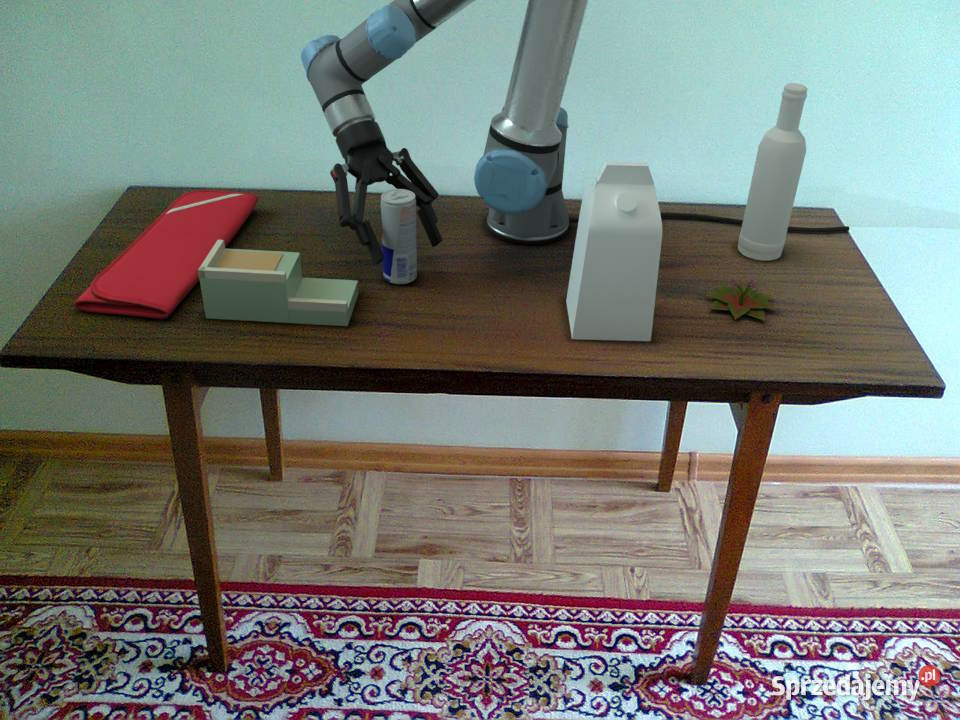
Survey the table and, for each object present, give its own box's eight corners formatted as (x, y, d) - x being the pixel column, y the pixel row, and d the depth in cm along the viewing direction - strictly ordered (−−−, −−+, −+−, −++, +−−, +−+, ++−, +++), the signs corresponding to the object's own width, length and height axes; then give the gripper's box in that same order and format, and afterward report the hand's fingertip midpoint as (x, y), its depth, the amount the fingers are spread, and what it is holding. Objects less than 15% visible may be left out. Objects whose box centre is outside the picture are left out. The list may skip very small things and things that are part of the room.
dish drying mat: (73, 311, 141) (67, 290, 139) (183, 203, 175) (180, 185, 173) (170, 322, 140) (166, 301, 137) (262, 210, 173) (260, 192, 171)
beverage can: (419, 271, 155) (418, 188, 147) (414, 287, 151) (413, 203, 142) (386, 268, 156) (384, 186, 147) (380, 284, 151) (377, 200, 143)
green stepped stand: (358, 293, 148) (356, 246, 144) (347, 326, 140) (344, 277, 135) (224, 286, 149) (217, 239, 144) (205, 318, 141) (197, 269, 136)
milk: (639, 302, 149) (662, 149, 134) (650, 341, 139) (676, 181, 125) (566, 300, 148) (580, 147, 134) (572, 339, 139) (588, 178, 124)
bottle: (736, 258, 163) (771, 90, 146) (736, 238, 169) (770, 76, 152) (782, 264, 161) (823, 96, 145) (781, 244, 168) (820, 81, 151)
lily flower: (782, 296, 152) (788, 272, 149) (772, 331, 143) (779, 306, 140) (709, 281, 155) (714, 257, 153) (696, 314, 146) (700, 289, 144)
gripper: (406, 127, 158) (457, 243, 157) (285, 154, 147) (339, 279, 145) (423, 106, 152) (476, 226, 150) (298, 132, 140) (354, 262, 139)
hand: (409, 252), depth 148 cm, fingers open, 10 cm apart
